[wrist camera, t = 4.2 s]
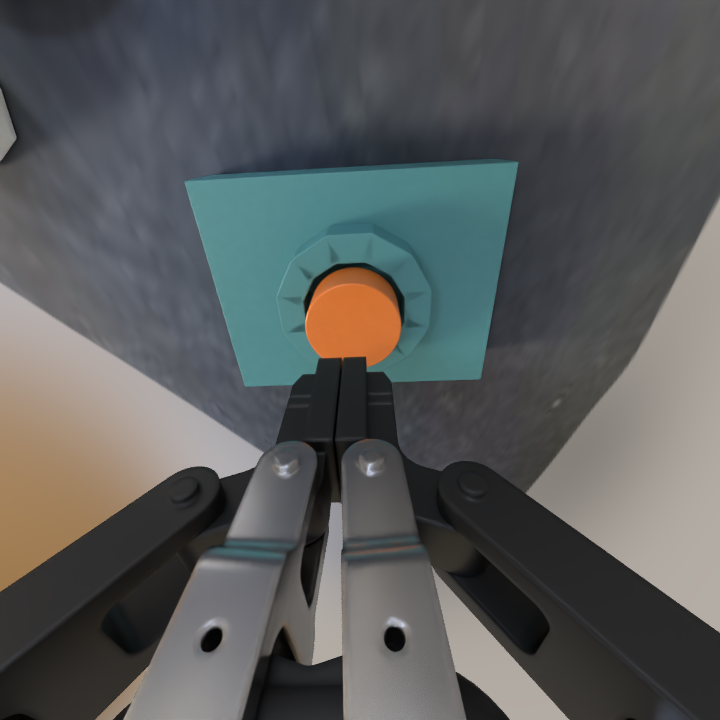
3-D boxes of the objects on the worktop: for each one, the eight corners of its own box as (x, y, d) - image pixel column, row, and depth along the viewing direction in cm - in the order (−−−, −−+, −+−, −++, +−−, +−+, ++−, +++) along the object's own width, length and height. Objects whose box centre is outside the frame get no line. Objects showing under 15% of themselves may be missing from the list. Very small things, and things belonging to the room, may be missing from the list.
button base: (496, 158, 16) (540, 164, 12) (468, 352, 22) (491, 402, 18) (211, 174, 17) (159, 186, 13) (258, 359, 23) (233, 409, 19)
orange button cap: (398, 264, 15) (402, 280, 13) (397, 344, 17) (401, 368, 15) (306, 268, 15) (298, 285, 13) (317, 347, 17) (311, 370, 15)
